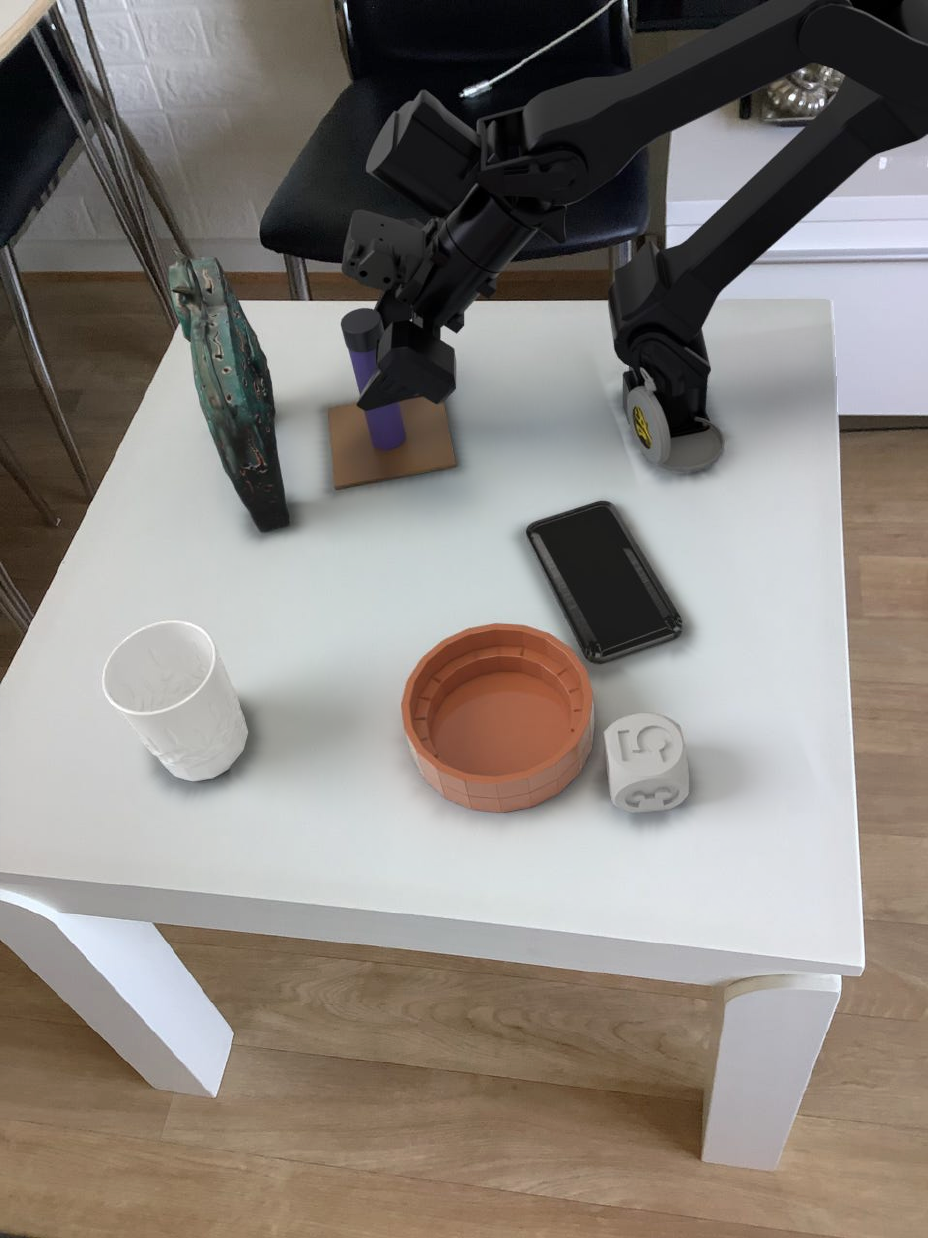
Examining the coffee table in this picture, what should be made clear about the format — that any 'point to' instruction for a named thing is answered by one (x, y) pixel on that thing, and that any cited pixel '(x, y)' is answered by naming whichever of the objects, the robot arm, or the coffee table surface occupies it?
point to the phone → (603, 582)
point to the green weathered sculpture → (231, 385)
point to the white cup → (177, 698)
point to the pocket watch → (662, 449)
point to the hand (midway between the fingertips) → (364, 372)
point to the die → (646, 763)
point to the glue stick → (361, 343)
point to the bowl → (499, 717)
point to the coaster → (370, 464)
